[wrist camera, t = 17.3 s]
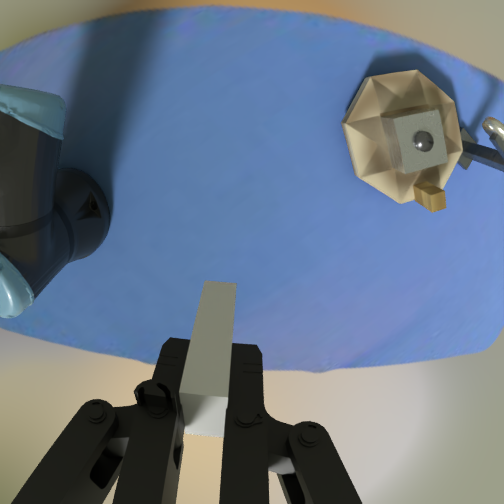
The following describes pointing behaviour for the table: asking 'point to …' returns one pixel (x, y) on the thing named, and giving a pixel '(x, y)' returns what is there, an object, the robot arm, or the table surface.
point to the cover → (415, 139)
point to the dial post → (499, 136)
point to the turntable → (374, 142)
